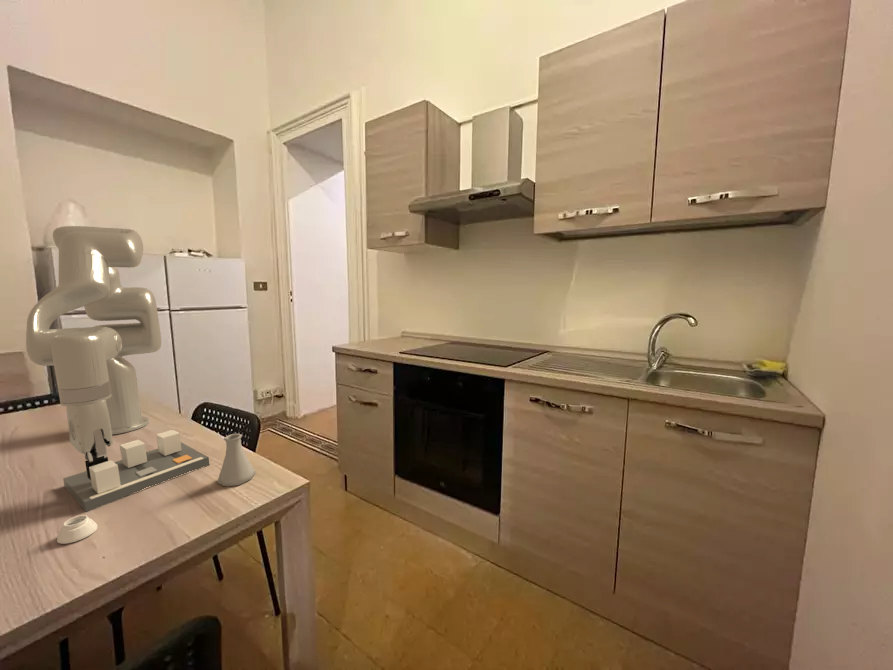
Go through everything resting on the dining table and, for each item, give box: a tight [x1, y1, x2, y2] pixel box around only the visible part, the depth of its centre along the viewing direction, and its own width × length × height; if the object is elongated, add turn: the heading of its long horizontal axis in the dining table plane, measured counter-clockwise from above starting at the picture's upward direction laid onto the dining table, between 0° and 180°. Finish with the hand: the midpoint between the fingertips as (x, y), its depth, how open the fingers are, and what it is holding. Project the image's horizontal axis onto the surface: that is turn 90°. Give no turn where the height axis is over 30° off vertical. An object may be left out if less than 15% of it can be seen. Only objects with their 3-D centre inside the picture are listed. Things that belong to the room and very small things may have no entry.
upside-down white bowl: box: [56, 514, 98, 545], centre depth 65 cm, size 5×3×5 cm
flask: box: [216, 433, 257, 487], centre depth 83 cm, size 7×7×10 cm
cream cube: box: [155, 429, 182, 456], centre depth 92 cm, size 4×4×4 cm
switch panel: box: [63, 441, 210, 512], centre depth 85 cm, size 16×22×2 cm
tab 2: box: [119, 439, 147, 468], centre depth 86 cm, size 4×4×4 cm
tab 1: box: [89, 459, 121, 494], centre depth 76 cm, size 4×4×4 cm
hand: (99, 476), depth 79 cm, fingers closed
